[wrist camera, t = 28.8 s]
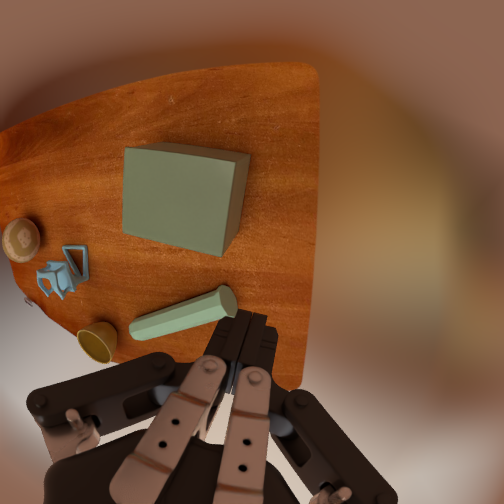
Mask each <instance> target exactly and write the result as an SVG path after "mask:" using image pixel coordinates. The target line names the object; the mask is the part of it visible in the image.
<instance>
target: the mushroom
mask: <svg viewBox="0 0 504 504" xmlns="http://www.w3.org/2000/svg"><path fill="white" fill-rule="evenodd" d="M2 244H3V249H4V251H5V253H6V255H7V256H8V257H9V258H10V259H11V260H13V261H15V262H19V263H23V262H28V261H29V260H31V259H32V258H33V257H34V256H35V255H36V254H37V252H38V249H39V247H40V233H39V231H38V228H37V227H36V225H35V224H34V223H33V222H32V221H30V220H29V219H25V218H18V219H15V220H13V221H11V222H10V223H9V224H8V225H7V226H6V228H5V230H4V233H3V238H2Z"/></svg>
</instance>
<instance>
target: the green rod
mask: <svg viewBox="0 0 504 504" xmlns="http://www.w3.org/2000/svg"><path fill="white" fill-rule="evenodd" d="M237 310H238V306H237V301H236V297H235V295H234V294H233V292H232V290H231V289H230V287H227V286H225V285H221V286H219V287H218V288H217V290H215V291H212V292H209V293H207V294H204V295H201V296H198V297H196V298H193V299H190V300H187V301H184V302H182V303H179V304H176V305H173V306H170V307H167V308H164V309H162V310H159V311H156V312H153V313H150V314H147V315H144V316H141V317H139V318H136V319H134V320H133V321H132V323H131V324H130V325H129V333H130V335H131V336H132V337H133V338H134V339H136V340H142V341H143V340H147V339H151V338H155V337H158V336H162V335H166V334H169V333H173V332H177V331H180V330H184V329H187V328H191V327H194V326H198V325H201V324H205V323H208V322H211V321H215V320H218V319H221V318H223V317H224V316H229V317H233V318H234V317H235V315H236V313H237Z"/></svg>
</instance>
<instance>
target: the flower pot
mask: <svg viewBox="0 0 504 504" xmlns="http://www.w3.org/2000/svg"><path fill="white" fill-rule="evenodd" d="M77 339H78V342H79V344H80V346H81V348H82V349H83V350H84V352H85V353H86V354H87V355H88V356H89V357H90V358H92V359H93V360H95V361H97V362H99V363H102V364H107V363H109V362H110V361H111V359H112V357H113V355H114V352H115V349H116V345H117V332H116V330H115V328H114V327H113V326H112V325H111V324H109V323H107V322H97V323H94V324H91V325H88V326H86V327H84V328H83V329H81V330H80V331H79V332H78V333H77Z"/></svg>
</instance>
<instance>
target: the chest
mask: <svg viewBox="0 0 504 504" xmlns="http://www.w3.org/2000/svg"><path fill="white" fill-rule="evenodd" d="M137 148H147V149H156V150H164V151H172V152H180V153H187V154H194V155H201V156H207V157H213V158H220V159H226V160H231V161H237V166H236V172H235V178H234V185H233V192H232V198H231V205H230V212H229V218H228V225H227V232H226V240H225V247H224V253H225V251H226V250H227V248H228V247H229V245H230V244H231V242H232V241H233V239H234V238H235V236H236V235H237V233H238V230H239V224H240V218H241V212H242V205H243V199H244V193H245V187H246V181H247V175H248V169H249V163H250V157H251V155H250V154H245V153H239V152H233V151H227V150H221V149H215V148H208V147H201V146H194V145H186V144H178V143H169V142H158V143H153V144H147V145H142V146H137Z"/></svg>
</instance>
